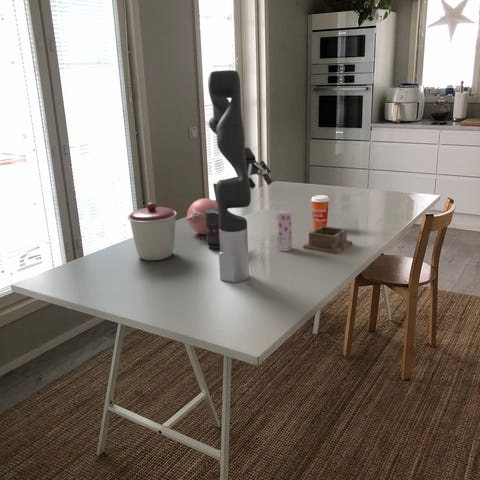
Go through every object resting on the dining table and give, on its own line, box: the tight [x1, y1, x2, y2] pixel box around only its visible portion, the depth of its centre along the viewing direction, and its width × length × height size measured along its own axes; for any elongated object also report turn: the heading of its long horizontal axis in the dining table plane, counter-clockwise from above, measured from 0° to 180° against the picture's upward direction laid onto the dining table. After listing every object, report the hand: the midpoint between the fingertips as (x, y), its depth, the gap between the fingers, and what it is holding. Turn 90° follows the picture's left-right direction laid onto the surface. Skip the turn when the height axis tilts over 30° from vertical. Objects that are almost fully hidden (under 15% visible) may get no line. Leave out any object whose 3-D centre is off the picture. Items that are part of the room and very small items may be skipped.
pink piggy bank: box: [186, 198, 218, 236], centre depth 220 cm, size 15×20×15 cm
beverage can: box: [276, 209, 293, 252], centre depth 198 cm, size 6×6×15 cm
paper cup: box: [311, 194, 331, 230], centre depth 223 cm, size 8×8×14 cm
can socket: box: [302, 226, 353, 255], centre depth 201 cm, size 14×14×6 cm
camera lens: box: [205, 209, 220, 252], centre depth 203 cm, size 8×8×15 cm
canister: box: [127, 201, 178, 261], centre depth 195 cm, size 18×18×21 cm
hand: (262, 185), depth 202 cm, fingers open, 8 cm apart
